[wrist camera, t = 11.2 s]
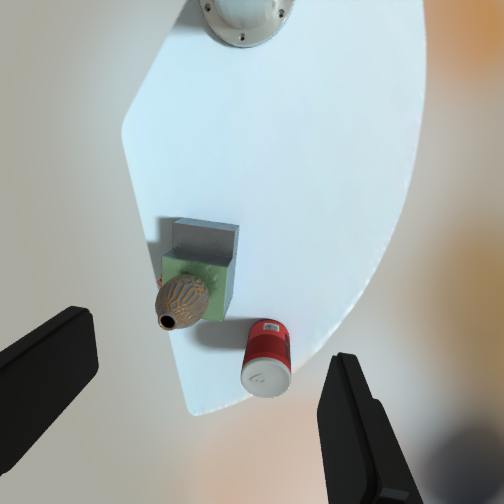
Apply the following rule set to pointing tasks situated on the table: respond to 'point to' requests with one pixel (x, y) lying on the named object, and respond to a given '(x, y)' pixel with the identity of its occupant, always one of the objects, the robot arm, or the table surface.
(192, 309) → the vase
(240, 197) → the table surface
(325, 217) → the table surface
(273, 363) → the canned food
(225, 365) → the table surface
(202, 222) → the stand
